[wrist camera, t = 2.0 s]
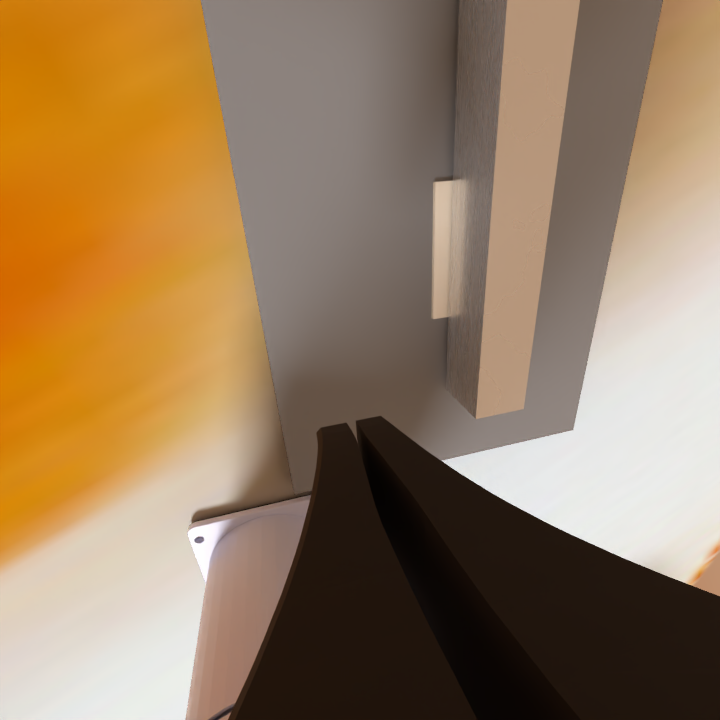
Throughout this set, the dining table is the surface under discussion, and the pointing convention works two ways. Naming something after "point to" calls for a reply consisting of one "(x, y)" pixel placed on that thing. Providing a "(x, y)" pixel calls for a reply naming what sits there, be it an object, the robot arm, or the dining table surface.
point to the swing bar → (503, 190)
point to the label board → (405, 209)
